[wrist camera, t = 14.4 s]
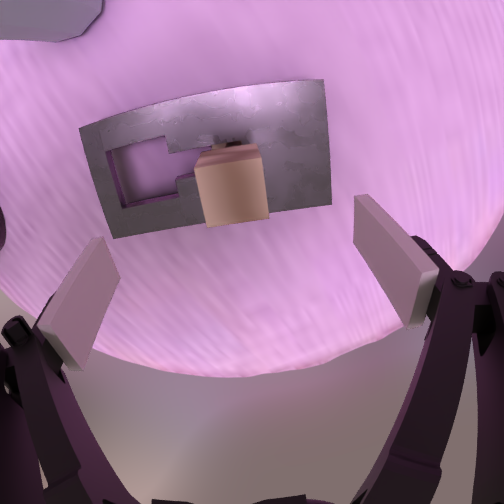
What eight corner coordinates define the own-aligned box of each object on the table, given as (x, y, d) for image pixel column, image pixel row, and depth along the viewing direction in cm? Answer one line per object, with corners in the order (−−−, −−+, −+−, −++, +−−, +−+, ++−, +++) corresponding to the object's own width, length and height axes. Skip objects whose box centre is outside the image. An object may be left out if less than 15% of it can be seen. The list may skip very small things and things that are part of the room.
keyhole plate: (127, 217, 39) (113, 239, 34) (100, 120, 31) (78, 128, 26) (318, 186, 38) (331, 204, 33) (309, 79, 31) (323, 79, 26)
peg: (216, 167, 36) (204, 231, 22) (209, 128, 34) (189, 165, 19) (256, 161, 36) (273, 221, 22) (251, 122, 33) (264, 153, 19)
